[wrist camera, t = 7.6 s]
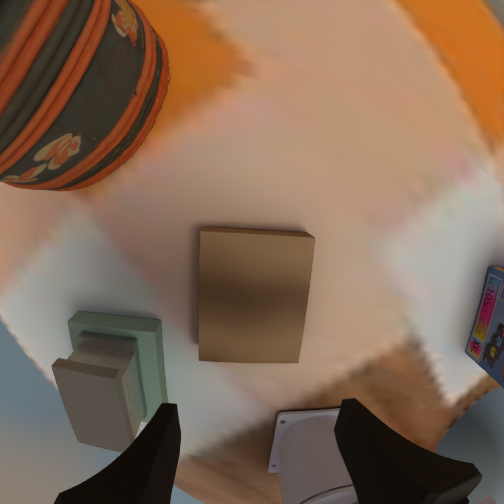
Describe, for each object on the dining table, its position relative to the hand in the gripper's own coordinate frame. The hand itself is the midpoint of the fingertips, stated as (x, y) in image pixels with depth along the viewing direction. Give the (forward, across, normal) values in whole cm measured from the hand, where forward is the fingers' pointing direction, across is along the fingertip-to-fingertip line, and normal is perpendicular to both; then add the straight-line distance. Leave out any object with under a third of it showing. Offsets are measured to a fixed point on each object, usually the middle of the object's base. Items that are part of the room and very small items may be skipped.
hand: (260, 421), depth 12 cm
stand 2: (+10, 0, -2) cm, 11 cm away
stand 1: (+10, +10, +5) cm, 15 cm away
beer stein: (+11, +14, -18) cm, 26 cm away
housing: (+8, +10, +4) cm, 14 cm away
